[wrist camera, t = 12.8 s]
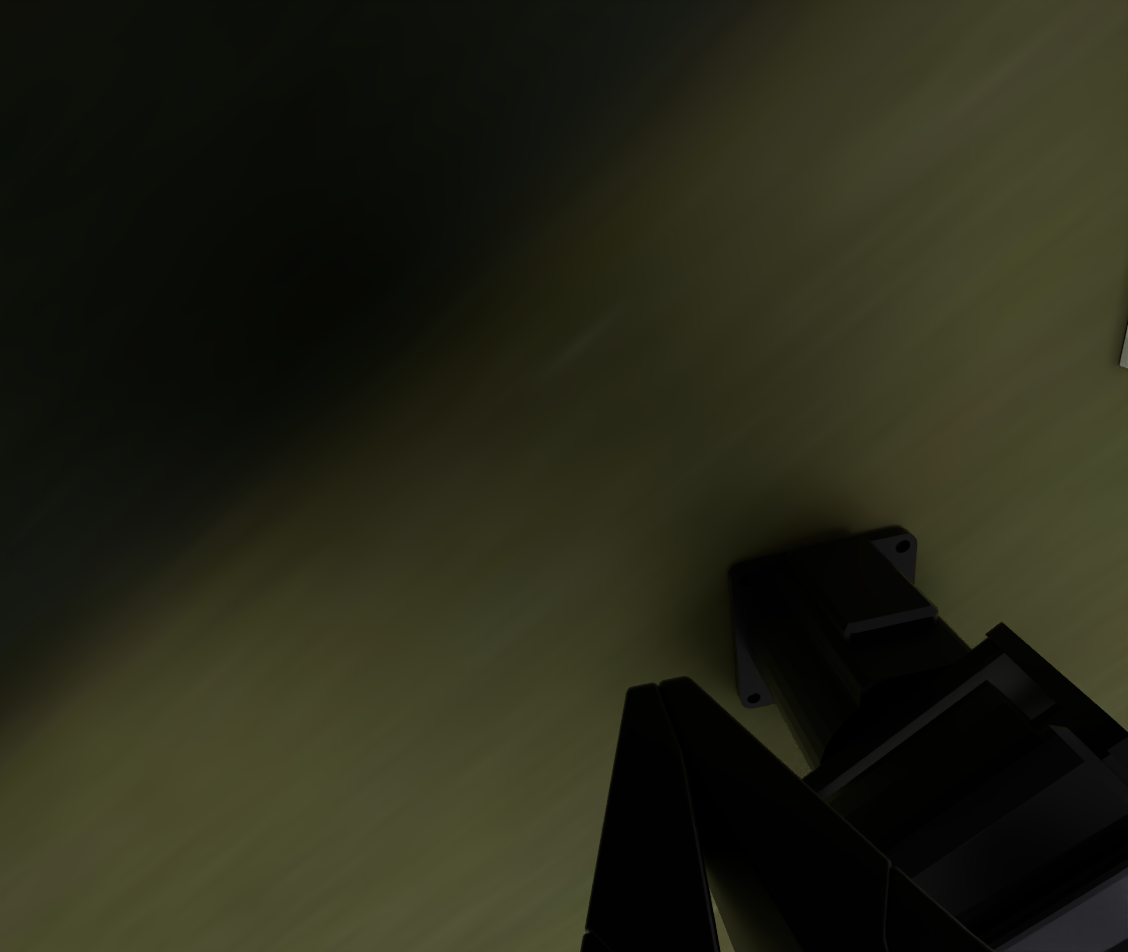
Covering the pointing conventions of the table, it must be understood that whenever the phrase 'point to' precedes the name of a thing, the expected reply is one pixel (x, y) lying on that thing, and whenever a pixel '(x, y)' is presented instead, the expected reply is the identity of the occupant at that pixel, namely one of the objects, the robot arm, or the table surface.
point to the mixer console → (1125, 352)
